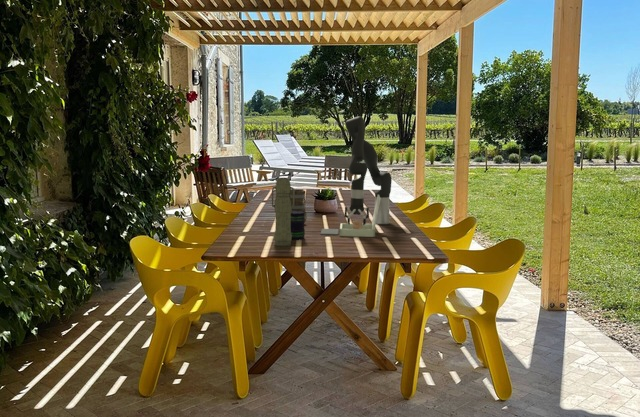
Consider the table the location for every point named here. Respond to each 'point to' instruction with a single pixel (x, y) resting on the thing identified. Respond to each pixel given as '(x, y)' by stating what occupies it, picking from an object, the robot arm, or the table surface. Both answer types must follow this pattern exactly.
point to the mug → (298, 200)
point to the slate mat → (329, 231)
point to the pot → (357, 224)
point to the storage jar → (297, 225)
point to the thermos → (283, 211)
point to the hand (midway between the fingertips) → (356, 224)
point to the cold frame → (366, 230)
